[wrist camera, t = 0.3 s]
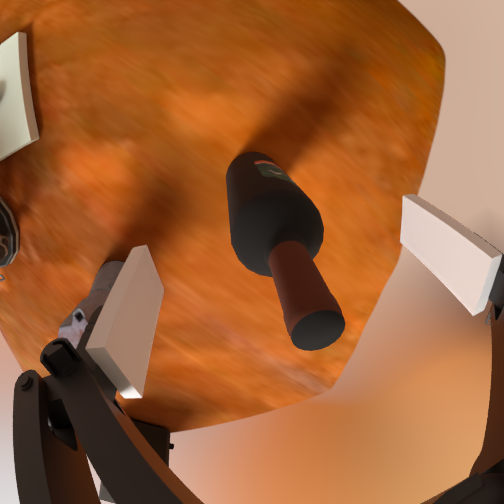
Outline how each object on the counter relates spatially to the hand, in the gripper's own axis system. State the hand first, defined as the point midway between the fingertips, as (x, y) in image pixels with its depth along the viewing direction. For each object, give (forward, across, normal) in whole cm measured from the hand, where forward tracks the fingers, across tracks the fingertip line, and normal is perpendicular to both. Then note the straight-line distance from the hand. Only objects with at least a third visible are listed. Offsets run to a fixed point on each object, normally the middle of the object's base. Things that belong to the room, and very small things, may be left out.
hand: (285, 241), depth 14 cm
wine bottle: (+28, +1, -4) cm, 28 cm away
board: (+28, -43, +22) cm, 55 cm away
